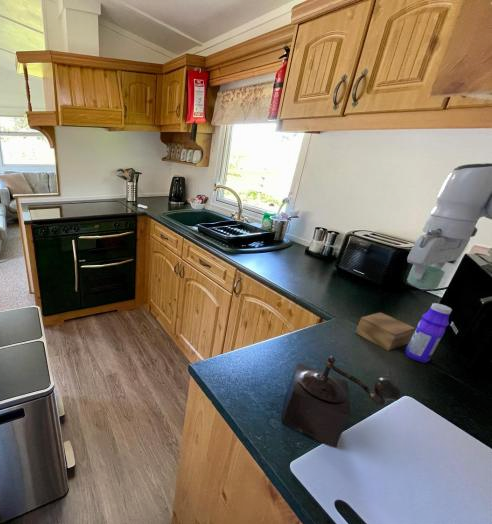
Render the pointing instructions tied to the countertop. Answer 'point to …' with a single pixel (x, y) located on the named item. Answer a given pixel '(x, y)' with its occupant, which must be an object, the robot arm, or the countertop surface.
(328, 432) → the manual coffee grinder
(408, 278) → the bowl
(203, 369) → the countertop surface
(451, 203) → the robot arm
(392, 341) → the block
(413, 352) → the bottle
